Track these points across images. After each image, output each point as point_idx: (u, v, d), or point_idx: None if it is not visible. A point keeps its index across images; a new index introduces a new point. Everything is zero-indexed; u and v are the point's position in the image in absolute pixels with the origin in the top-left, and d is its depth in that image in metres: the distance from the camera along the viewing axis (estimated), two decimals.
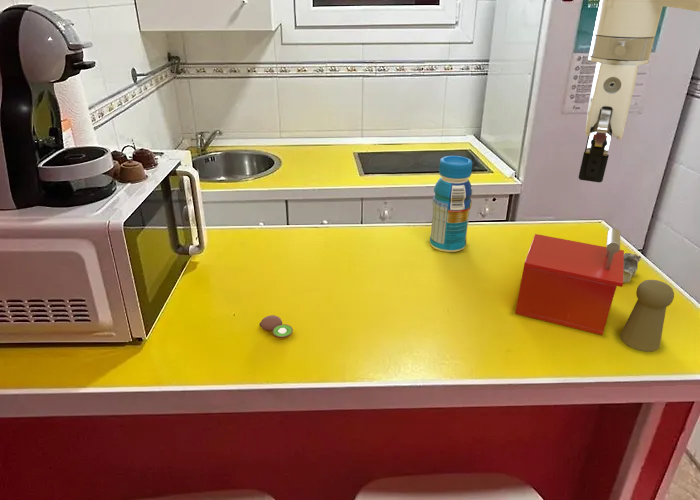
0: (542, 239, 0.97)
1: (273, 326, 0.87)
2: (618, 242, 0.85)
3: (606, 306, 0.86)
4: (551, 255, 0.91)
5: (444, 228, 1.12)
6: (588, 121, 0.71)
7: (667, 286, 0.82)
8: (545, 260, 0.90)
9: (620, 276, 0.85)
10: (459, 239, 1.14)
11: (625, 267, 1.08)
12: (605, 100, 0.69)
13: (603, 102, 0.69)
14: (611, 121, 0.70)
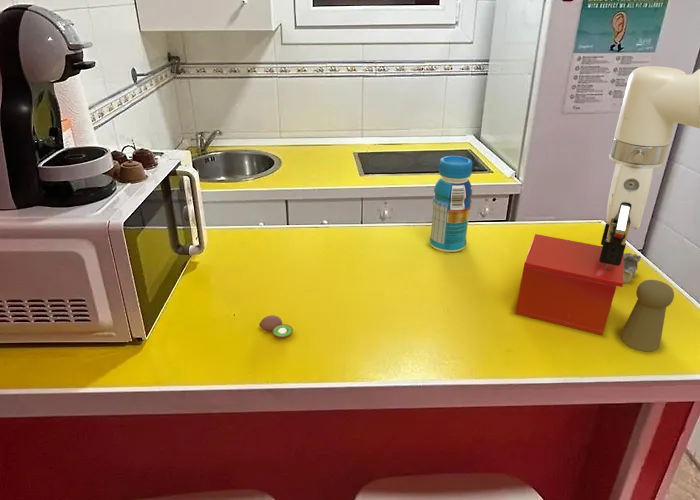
0: (542, 239, 0.97)
1: (273, 326, 0.87)
2: None
3: (606, 306, 0.86)
4: (551, 255, 0.91)
5: (444, 228, 1.12)
6: (609, 213, 0.81)
7: (667, 286, 0.82)
8: (545, 260, 0.90)
9: (620, 276, 0.85)
10: (459, 239, 1.14)
11: (625, 267, 1.08)
12: (625, 197, 0.79)
13: (622, 202, 0.79)
14: (630, 215, 0.80)
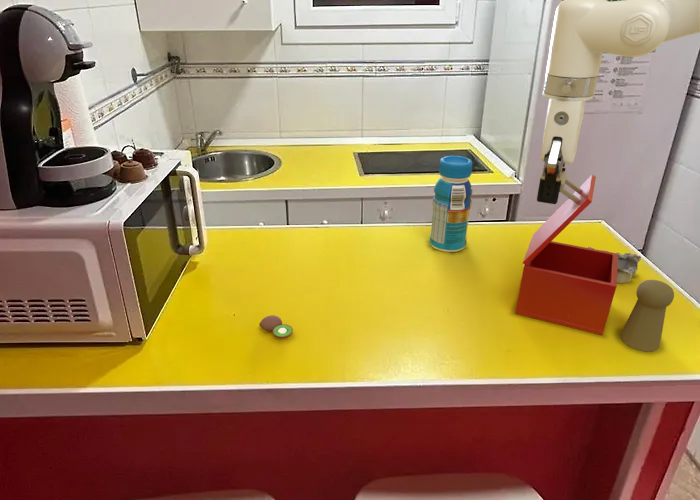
0: (537, 232, 0.97)
1: (273, 326, 0.87)
2: None
3: (606, 306, 0.86)
4: (541, 236, 0.91)
5: (444, 228, 1.12)
6: (542, 149, 0.81)
7: (667, 286, 0.82)
8: (536, 245, 0.89)
9: (586, 196, 0.82)
10: (459, 239, 1.14)
11: (625, 267, 1.08)
12: (556, 131, 0.79)
13: (553, 136, 0.80)
14: (562, 149, 0.80)
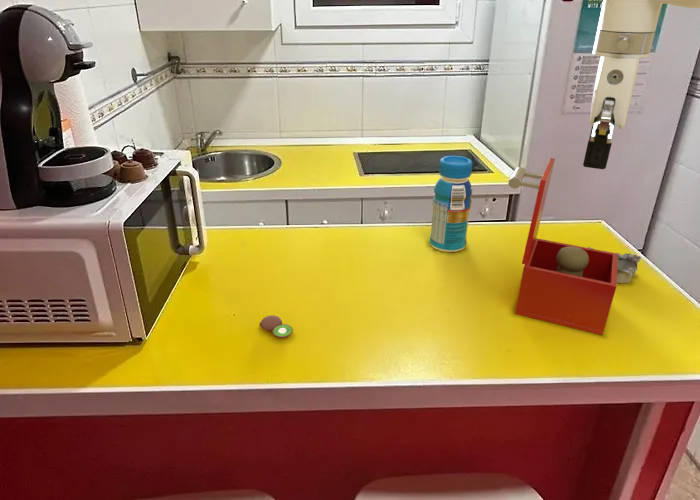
0: None
1: (273, 326, 0.87)
2: (511, 177, 0.88)
3: (606, 306, 0.86)
4: None
5: (444, 228, 1.12)
6: (592, 111, 0.76)
7: (582, 251, 0.90)
8: None
9: None
10: (459, 239, 1.14)
11: (625, 267, 1.08)
12: (608, 91, 0.74)
13: (606, 93, 0.74)
14: (614, 111, 0.75)
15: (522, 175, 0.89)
